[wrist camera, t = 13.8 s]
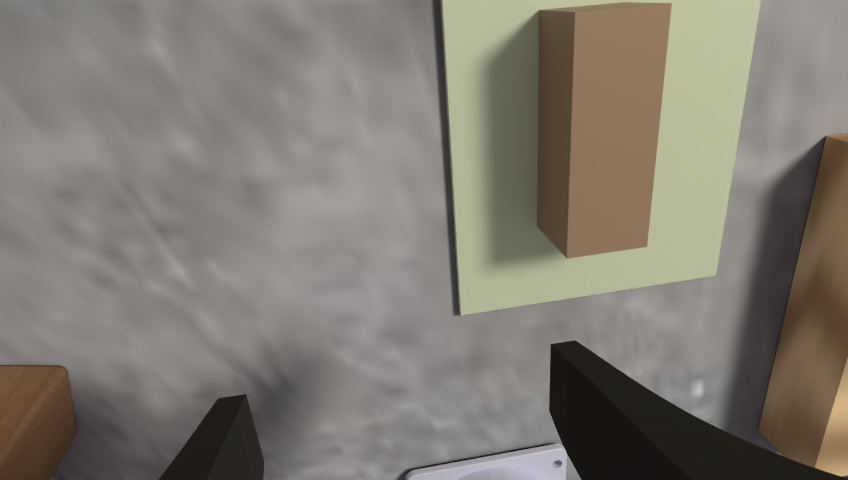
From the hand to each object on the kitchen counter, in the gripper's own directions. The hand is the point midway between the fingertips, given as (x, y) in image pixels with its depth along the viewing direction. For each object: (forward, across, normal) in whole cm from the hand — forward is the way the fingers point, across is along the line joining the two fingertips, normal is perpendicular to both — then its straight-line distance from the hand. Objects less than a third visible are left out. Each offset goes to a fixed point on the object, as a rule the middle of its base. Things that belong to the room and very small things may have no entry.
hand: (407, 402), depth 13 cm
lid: (+10, -9, -4) cm, 14 cm away
